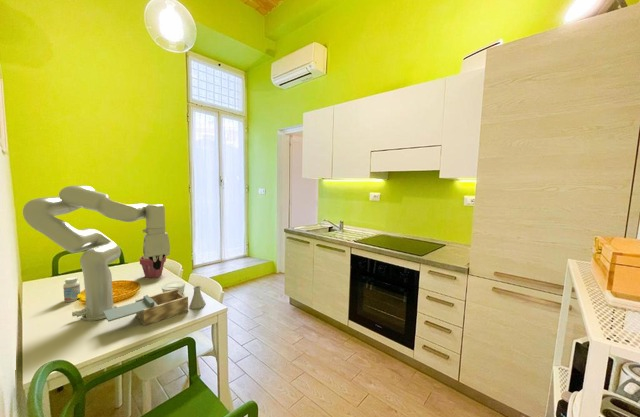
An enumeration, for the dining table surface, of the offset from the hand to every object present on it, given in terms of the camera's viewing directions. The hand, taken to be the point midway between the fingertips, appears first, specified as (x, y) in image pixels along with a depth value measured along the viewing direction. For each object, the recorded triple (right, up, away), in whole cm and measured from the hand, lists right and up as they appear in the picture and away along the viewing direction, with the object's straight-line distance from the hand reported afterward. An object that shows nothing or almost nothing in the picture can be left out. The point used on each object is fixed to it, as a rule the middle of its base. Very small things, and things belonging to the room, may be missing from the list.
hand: (157, 268), depth 121 cm
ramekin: (-4, -19, +20) cm, 28 cm away
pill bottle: (-51, -19, +11) cm, 55 cm away
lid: (-5, -16, -9) cm, 19 cm away
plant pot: (-31, -15, +46) cm, 58 cm away
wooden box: (+3, -21, 0) cm, 21 cm away
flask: (+15, -21, +8) cm, 27 cm away
